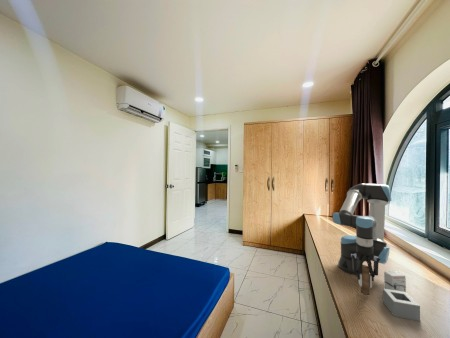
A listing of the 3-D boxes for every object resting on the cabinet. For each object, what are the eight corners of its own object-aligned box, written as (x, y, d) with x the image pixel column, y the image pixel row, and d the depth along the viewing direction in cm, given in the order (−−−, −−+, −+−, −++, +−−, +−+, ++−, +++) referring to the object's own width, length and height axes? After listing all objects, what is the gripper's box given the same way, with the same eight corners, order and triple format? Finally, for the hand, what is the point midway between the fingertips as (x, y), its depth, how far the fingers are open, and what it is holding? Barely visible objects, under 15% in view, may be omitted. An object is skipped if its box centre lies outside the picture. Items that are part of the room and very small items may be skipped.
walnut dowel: (359, 289, 104) (359, 264, 104) (367, 291, 103) (367, 265, 103) (362, 294, 100) (362, 267, 100) (371, 296, 99) (370, 269, 99)
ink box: (391, 296, 102) (391, 276, 102) (383, 290, 107) (383, 271, 107) (406, 296, 102) (406, 275, 102) (397, 290, 107) (397, 270, 107)
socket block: (383, 301, 98) (383, 288, 98) (406, 305, 95) (406, 292, 95) (394, 316, 88) (394, 301, 88) (420, 321, 85) (420, 305, 85)
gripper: (349, 245, 100) (350, 287, 101) (386, 249, 95) (387, 293, 95) (344, 240, 107) (345, 279, 108) (379, 243, 102) (379, 284, 103)
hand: (365, 285), depth 102 cm, fingers closed on walnut dowel, 4 cm apart
